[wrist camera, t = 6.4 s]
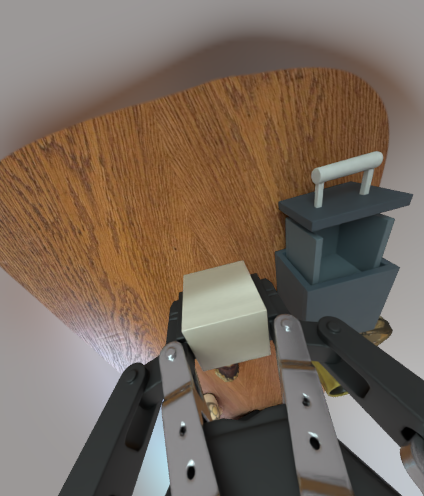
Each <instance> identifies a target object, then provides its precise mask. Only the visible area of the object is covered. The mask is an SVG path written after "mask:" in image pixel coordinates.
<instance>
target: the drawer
mask: <svg viewBox="0 0 424 496" xmlns="http://www.w3.org/2000/svg"><path fill="white" fill-rule="evenodd" d="M382 160H383V155H382V153H381V152H378V151H375V152H372V153H368V154H365V155H361V156H358V157H354V158H350V159H347V160H343V161H340V162H336V163H333V164H329V165H326V166H322V167H319V168H315V169H314V170H313V171H312V181H313V182H314V183H315V184H316V186H315V192H311V193H308V194H304V195H300V196H297V197H293V198H290V199H286V200H283V201H279V202H278V206H279V210H280V211H282V212H283V213H285V214H286V215H288V216H289V217H286V218H285V222H286V258H287V259H288V261H289V262H290V263H291V264H292V265H293V266H294V267H295V268H296V270H297V271H298V272H299V273H300V274H301V275H302V276H303V277H304V279H305V280H306V281H307V282H308V283H309V284H310V285H314V284H318V283H322V282H325V281H329V280H333V279H337V278H340V277H344V276H348V275H352V274H355V273H359V272H363V271H367V270H370V269H374V268H378V267H379V265H380V262H381V259H382V256H383V253H384V250H385V247H386V244H387V242H388V239H389V235H390V233H391V230H392V226H393V224H394V221H395V219H394V218H391V217H388V216H385V215H382V214H380V213H382V212H386V211H389V210H393V209H397V208H400V207H404V206H408V205H410V202H411V199H412V197H413V194H409V193H405V192H400V191H394V190H390V189H385V188H381V187H376V186H371V180H372V176H373V172H374V168H376V167H378V166H379V165H380V164H381V163H382ZM361 171H364V174H363V179H362V184H361V183H357V182H352V181H351V182H347V183H343V184H340V185H336V186H333V187H329V188H325V189H323V188H324V182H326V181H329V180H333V179H336V178H340V177H343V176H347V175H351V174H354V173H358V172H361Z"/></svg>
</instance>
